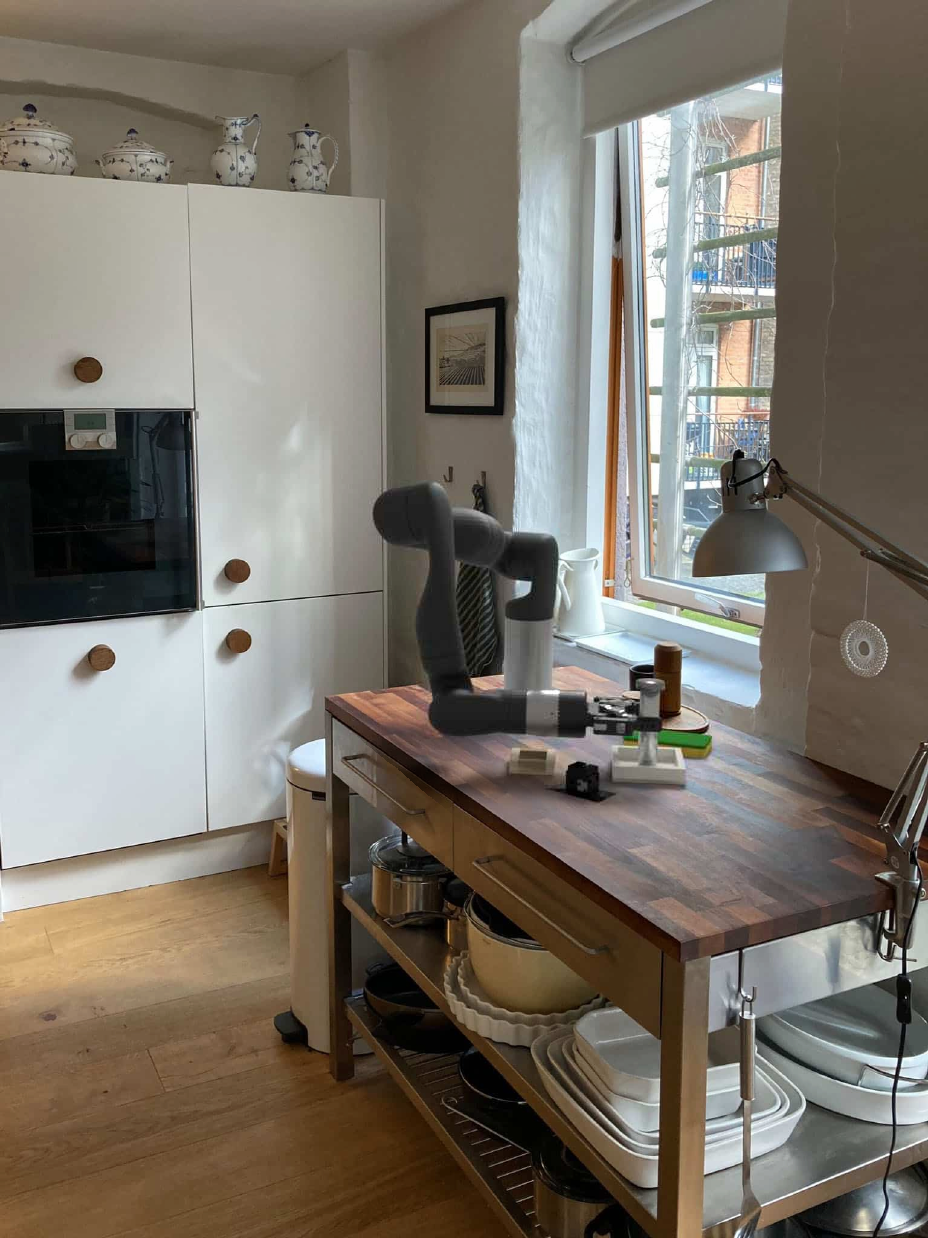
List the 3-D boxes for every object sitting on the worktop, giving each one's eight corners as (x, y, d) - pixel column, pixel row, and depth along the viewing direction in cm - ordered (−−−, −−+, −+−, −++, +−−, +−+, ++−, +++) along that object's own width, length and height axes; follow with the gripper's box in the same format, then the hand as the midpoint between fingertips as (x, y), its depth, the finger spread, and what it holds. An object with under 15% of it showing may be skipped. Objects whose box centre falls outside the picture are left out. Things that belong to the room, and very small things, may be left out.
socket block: (512, 759, 183) (512, 747, 183) (555, 761, 182) (555, 749, 182) (509, 773, 176) (509, 761, 176) (553, 775, 175) (554, 762, 175)
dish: (611, 760, 183) (611, 745, 183) (679, 762, 182) (680, 748, 181) (612, 781, 172) (612, 766, 172) (685, 785, 171) (686, 769, 171)
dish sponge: (704, 760, 185) (705, 746, 184) (621, 750, 190) (622, 736, 189) (711, 748, 191) (712, 735, 191) (631, 739, 196) (632, 726, 196)
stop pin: (632, 763, 179) (635, 677, 177) (660, 764, 179) (664, 679, 176) (633, 772, 175) (636, 684, 173) (661, 773, 175) (665, 685, 172)
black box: (630, 798, 167) (631, 768, 166) (603, 811, 161) (604, 780, 161) (561, 780, 175) (562, 752, 174) (533, 792, 169) (534, 762, 168)
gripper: (555, 701, 169) (664, 705, 168) (558, 679, 183) (659, 682, 182) (554, 749, 171) (662, 754, 169) (557, 724, 185) (657, 727, 183)
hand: (660, 717), depth 175 cm, fingers open, 8 cm apart
